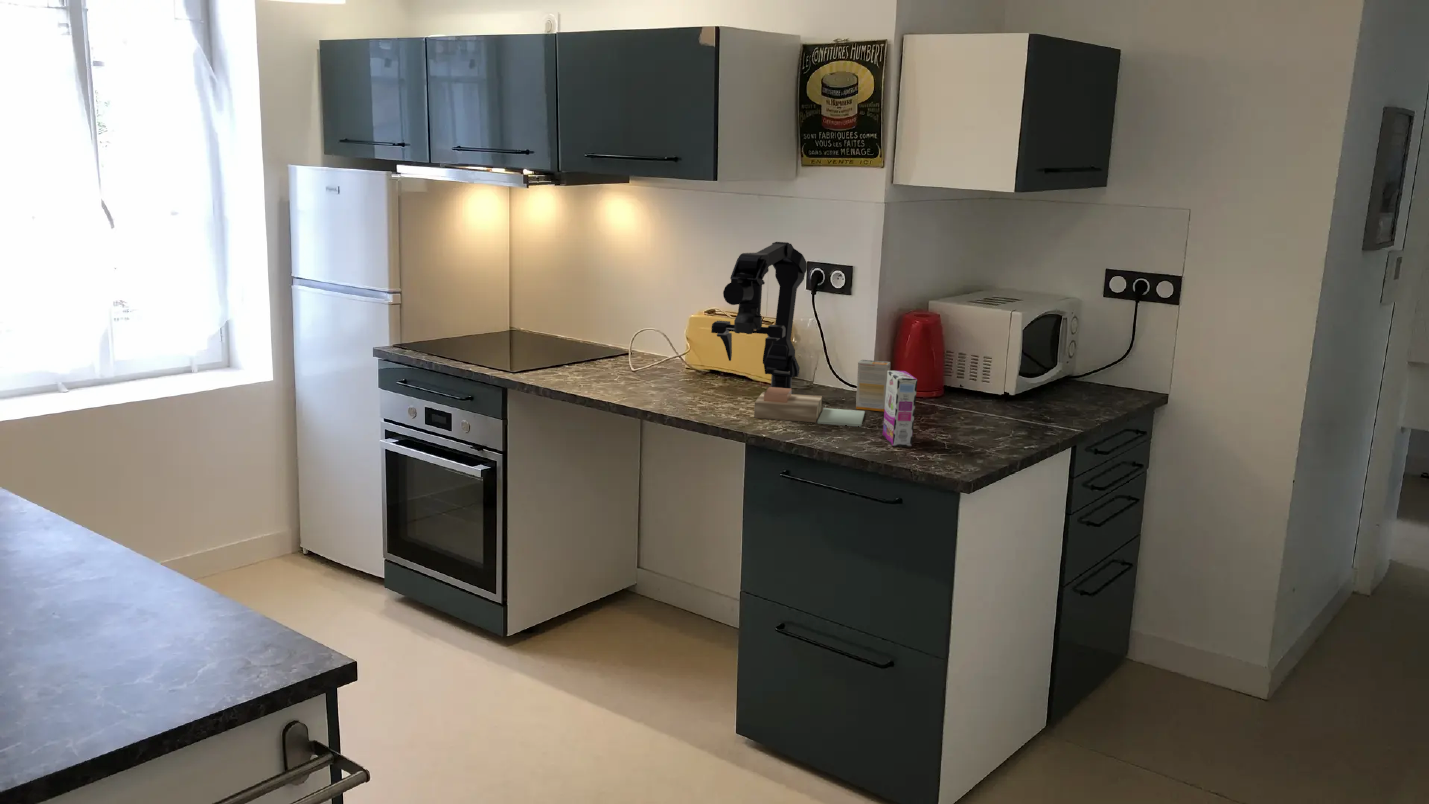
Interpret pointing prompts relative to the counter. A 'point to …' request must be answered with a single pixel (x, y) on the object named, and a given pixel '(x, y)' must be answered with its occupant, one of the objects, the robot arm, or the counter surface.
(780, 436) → the counter surface
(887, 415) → the candy bar box
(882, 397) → the supplement box
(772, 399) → the tile
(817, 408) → the board
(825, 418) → the mat
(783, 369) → the robot arm
